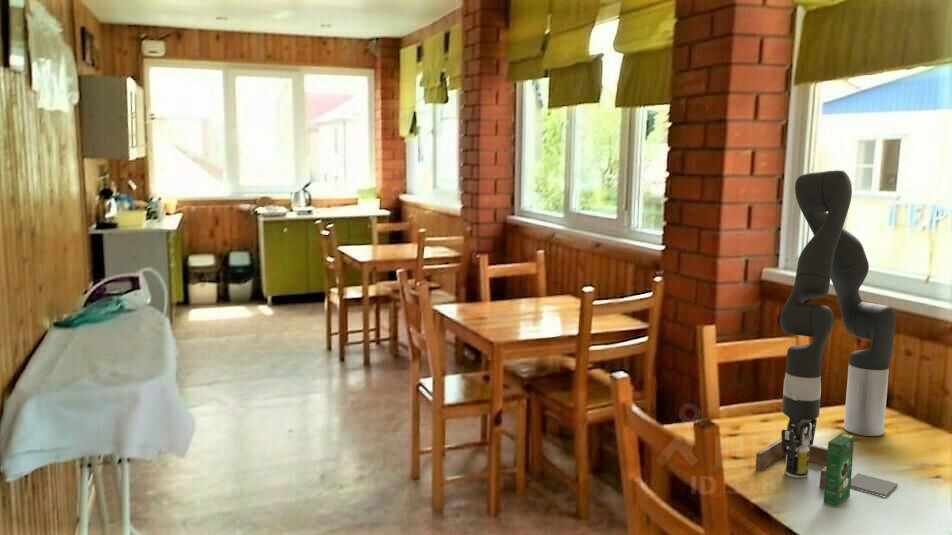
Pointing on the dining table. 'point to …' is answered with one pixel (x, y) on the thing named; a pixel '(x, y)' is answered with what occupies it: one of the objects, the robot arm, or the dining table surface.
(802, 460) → the supplement bottle
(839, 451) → the coffee box
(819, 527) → the dining table surface
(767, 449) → the open box
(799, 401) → the robot arm
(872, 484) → the grey mat
